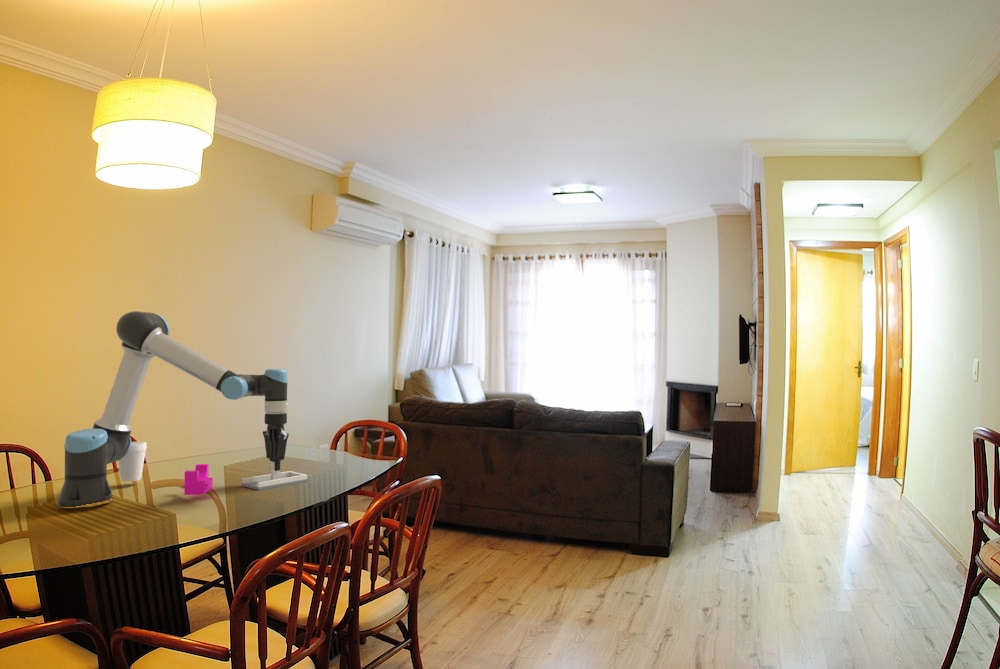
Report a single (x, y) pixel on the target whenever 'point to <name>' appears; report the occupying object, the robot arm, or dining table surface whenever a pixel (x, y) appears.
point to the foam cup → (133, 462)
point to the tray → (267, 483)
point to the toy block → (198, 480)
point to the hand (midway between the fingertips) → (275, 479)
